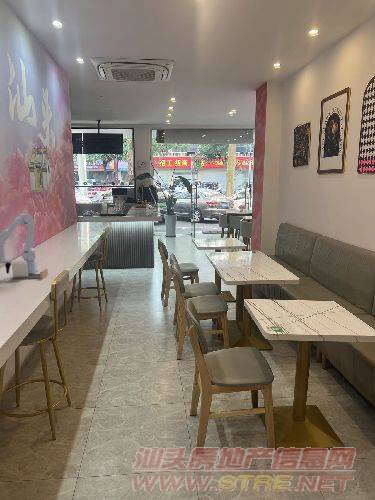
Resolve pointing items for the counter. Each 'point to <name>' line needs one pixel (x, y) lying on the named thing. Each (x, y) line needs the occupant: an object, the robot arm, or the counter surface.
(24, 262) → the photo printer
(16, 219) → the robot arm
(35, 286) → the counter surface
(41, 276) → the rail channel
